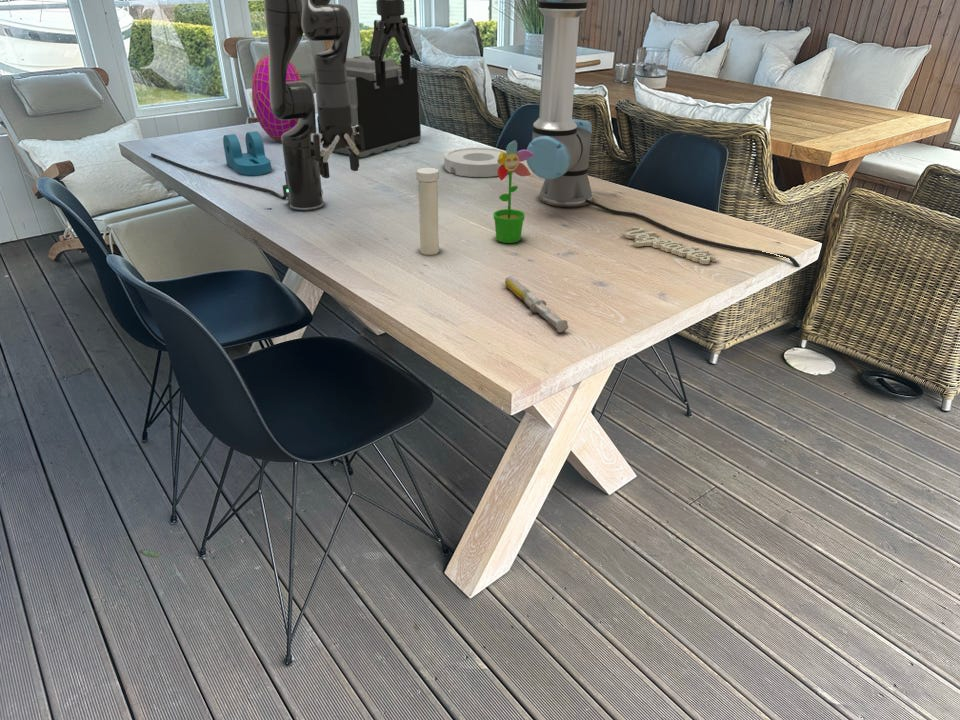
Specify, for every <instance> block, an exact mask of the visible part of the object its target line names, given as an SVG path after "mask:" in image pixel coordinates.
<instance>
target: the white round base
mask: <svg viewBox="0 0 960 720" xmlns="http://www.w3.org/2000/svg"><path fill="white" fill-rule="evenodd" d="M501 152H505V153H506V150H503V149H499V148H492V147H480V146H479V147H463V148H456V149H453V150H449V151H446V152H445V153H444V156H443V158H444V163H443V164H444V170H445V171H446V172H448V173H450V174H455V175H457V176H460V177H461V176H462V177H467V178H468V177H470V178H490V177H499V176H498V168H499V167H500V166H501V165H502V164H499V163H498V162H497V160H498V157H499V155H500V153H501ZM506 154H507V153H506ZM508 174H509V171H508Z"/></svg>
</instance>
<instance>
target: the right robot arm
mask: <svg viewBox="0 0 960 720" xmlns="http://www.w3.org/2000/svg"><path fill="white" fill-rule="evenodd" d="M587 4H588V0H538V10H539V11H540V13H541V14H542V15H543V35H542V37H543V38H542V52H541V53H542V55H541V76H540V93H539V94H540V95H539V96H540V97H539V114H538V118H537V119H536V120H535V121H534V122H533V125H532V137H531V139H532V140H531V141H530V142H529V143H528V146H527V148H526V150H529V151H530V152H532V153H533V154H534V156H532V157H531V158H529V159H527V160H525V162H526V164H527V166H528V169H530V170H529V171H531V172H532V173H533V174H534V175H535V176H536V177H538V178H541V179H543V180H544V181H543V184H542V187H541V189H540V192H539V200H540V202H542V203H543V204H546V205H549V206H553V207H558V208H559V207H560V208H580V207H584V206H588V205H592V206H595V207H597V208H599V209H602V210H603V211H606V212H609V213H612V214H617V215H623V216H630V217H635V218H637V219H642V220H644V221H646V222H649V223H651V224H652V225H654V226H656V227H658V228H661V229H663V230H665V231H667V232H669V233H672V234H675V235H678V236H680V237H683V238H686V239H689V240H691V241H695V242H699V243H702V244H706V245H709V246H714V247H718V248H719V247H720V248H724V249H729V250H734V251H739V252H745V253H752V254H758V255H762V256H767V257H771V258H780V259H786V258H789V259H790V260H789V262H791V263H792V264H793V265H794V267H795V268H800V267H801V266H800V264H799V262H798V261H797V260H796V259H795V258H794V257H792V256H791V255H788V254H784V253H777V252H776V253H775V252H773V253H774V254H777V255H780V256H783V257H786V258H783V257H779V256H776V255H774V254H770V253H771V252H770V253H766V252H767V251H766V252H762V251H763V250H761V249H755V248H747V247H741V246H736V245H730V244H726V243H721V242H716V241H712V240H708V239H704V238H700V237H697V236H693V235H691V234H687V233H685V232H682V231H679V230H677V229H674V228H672V227H669V226H667V225H665V224H662V223H660V222H658V221H655V220H654V219H651V218H650V217H648V216H645V215H643V214H640V213H636V212H630V211H623V210H616V209H612V208H609V207H607V206H605V205H603V204H600V203H597V202H595V201H592V199H593V193H592V188H591V184H590V179H589V165H590V153H591V142H592V136H593V135H592V134H593V132H592V130H593V129H592V127H593V126H592V123H591V122H590V121H589V120H585V119H579V118H573V109H574V95H575V82H576V70H577V56H578V55H577V54H578V42H579V28H580V18H581V16H582V15H583V14H584V13H585V12H586V11H587V6H588V5H587ZM375 6H376V14H377V15H378V16H380V19H374V20H373V33H372V38H371V44H370V48H369V55H368V57H369V58H370V59H371V60H372V61H375V72H376V85H377V86H381V87H386V72H385V61H383V58H385V55H386V52H387V48H388V46H389V42H390V41H391V40H392V39H393V38H394V39H395V42H396V43H397V46H398V47H399V50H400V52H401V54H400V65H401V74H402V80H411V67H412V66H411V56H414V54H415V50H416V49H415V46H414V42H413V39H412V34H411V31H410V27H409V20H408V17H406V16H405V17H404V15H405V13H406V12H405V10H406V9H405V0H376V1H375ZM786 260H787V259H786Z"/></svg>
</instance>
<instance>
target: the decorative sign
mask: <svg viewBox="0 0 960 720" xmlns="http://www.w3.org/2000/svg"><path fill="white" fill-rule="evenodd" d="M624 238H626V239H629V240H630V239H631V240H634V247H636V248H639V247H653V248H655V249H660V250H661V251H663V252H667V253H671V254H673V255H677V256H679V257H685V259H687V260H691V261H693V262H696V263H697V262H698V263H700V264H702V265H709V264H710V261H711V262H712V263H715V262H716V258H717V257H716V256H715V255H711V254H710V250H709V249H700V247H699V246H697V245H696V246H686V247H685V246H684V245H683V243H682V242H681V241H677V240H676V241H675V240H673V239H667V240H666V239H662V238H658V237H657V232H656V231H645V228H643V227H639V226H631V229H630V231H625V234H624ZM709 254H710V255H709Z"/></svg>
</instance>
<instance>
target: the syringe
mask: <svg viewBox="0 0 960 720" xmlns="http://www.w3.org/2000/svg"><path fill="white" fill-rule="evenodd" d="M504 285H505V287H506V288H507V289H508V290H510V292H512V293H513V294H514V295H515V296H516V297H517V298H519V299H520V301H522V302H523V303H524V304H525V305H526V306H527V307H528V308H529V311H530V313H533V314H535V313H537V314H539V315H540V316H541V317H542V318H544V320H546V321H547V322H548V323H549V324H550V325H551V326H552V327H553V328H555V329H556V331H557V333H558V334H561V333H563V332H565V331H566V330H568V329H569V325H568V324H569V323H568V321H567V320H566V319H562V318H561V317H560V316H559V315H558V314H557V313H555V311H552V310H551V309H550V308H548V307H547V302H546V301H545V300H544V299H541V298H539V297H538V296H537V295H536V294H534V293H533V292H532V291H530V290H529V289H528V288H527V287H526V286H524V285H523V284H522V283H521V282H520V281H519V280H518V279H517V278H516V277H515V276H513V275H510V276H507V277H505V281H504Z"/></svg>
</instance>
